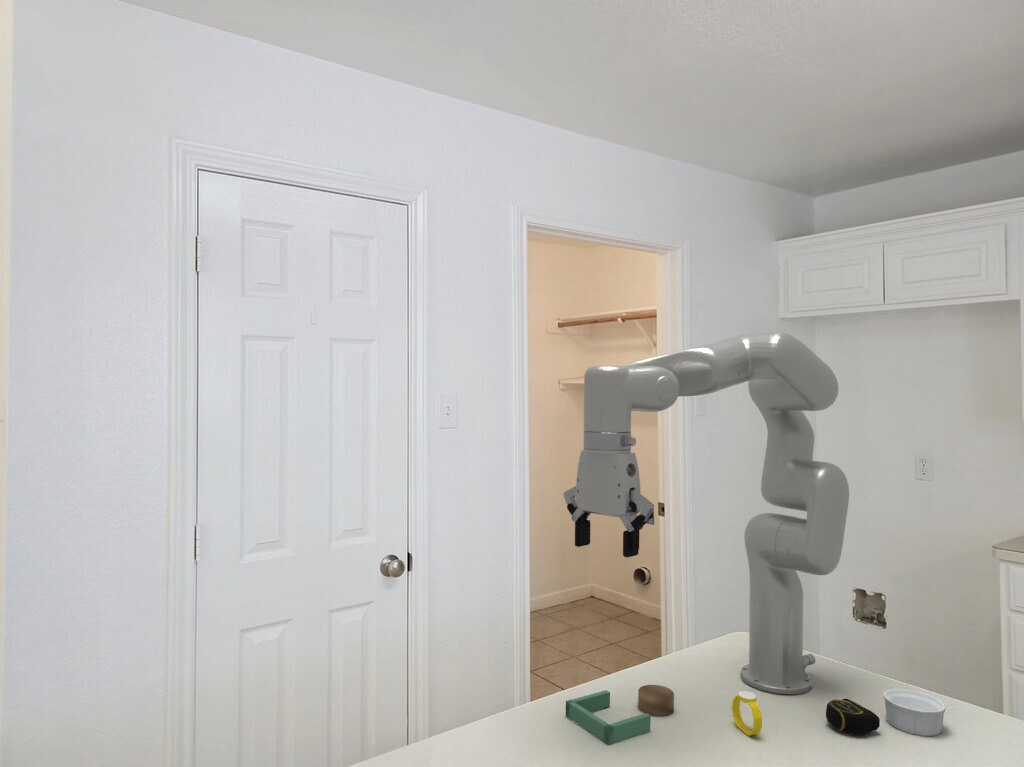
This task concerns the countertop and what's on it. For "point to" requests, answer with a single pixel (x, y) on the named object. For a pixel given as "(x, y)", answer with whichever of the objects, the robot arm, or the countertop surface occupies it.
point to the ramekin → (914, 712)
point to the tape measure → (851, 717)
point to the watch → (751, 700)
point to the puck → (656, 700)
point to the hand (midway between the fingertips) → (605, 550)
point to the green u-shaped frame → (606, 732)
